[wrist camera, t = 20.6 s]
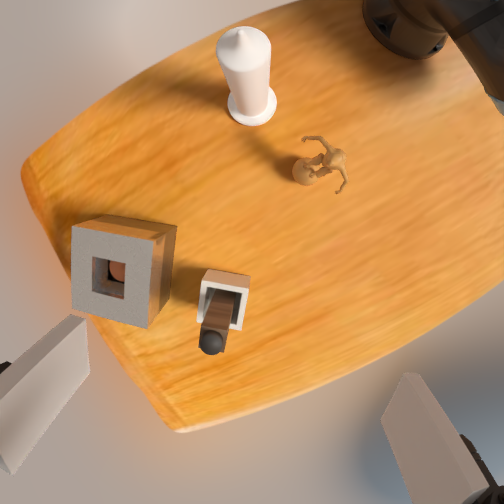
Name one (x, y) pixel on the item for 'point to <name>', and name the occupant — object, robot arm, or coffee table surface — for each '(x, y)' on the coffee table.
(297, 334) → the coffee table surface
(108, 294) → the grey box with hole
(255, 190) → the coffee table surface
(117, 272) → the button
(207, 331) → the wood knob block
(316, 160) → the figurine
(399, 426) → the robot arm
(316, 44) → the coffee table surface
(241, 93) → the candle
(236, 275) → the pen cup
